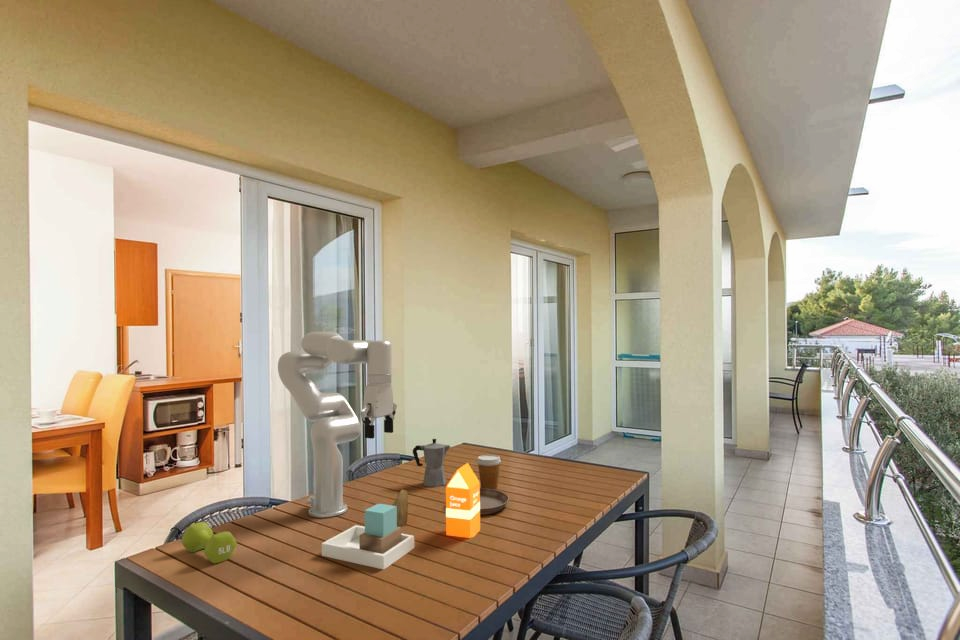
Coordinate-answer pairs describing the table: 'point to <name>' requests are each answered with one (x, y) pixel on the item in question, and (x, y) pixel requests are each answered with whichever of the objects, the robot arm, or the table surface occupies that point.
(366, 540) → the walnut block
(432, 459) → the coffeepot
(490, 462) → the disposable coffee cup
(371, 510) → the teal box
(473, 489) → the orange juice
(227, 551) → the dumbbell
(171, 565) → the table surface
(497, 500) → the plant saucer
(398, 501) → the rock
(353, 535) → the white tray
